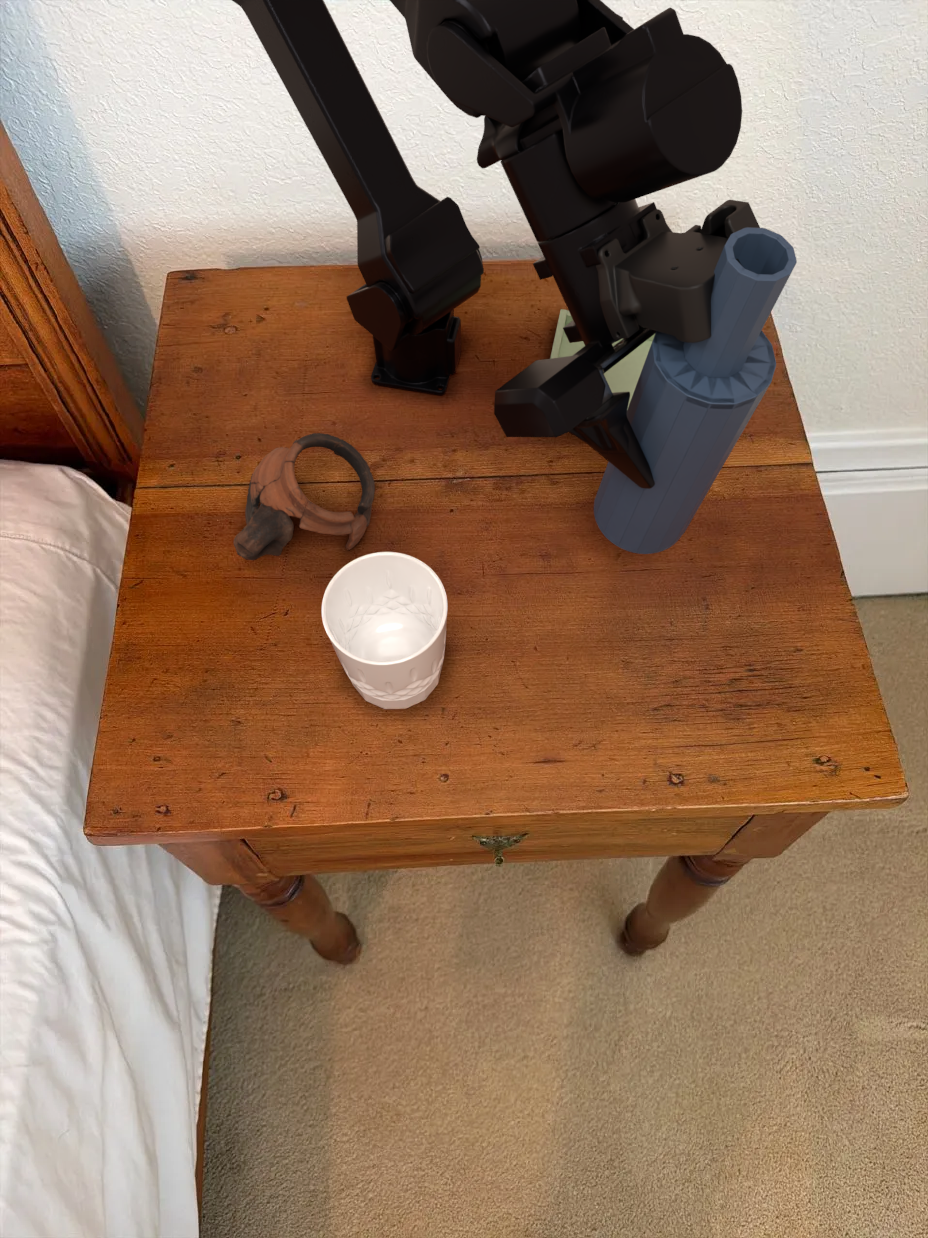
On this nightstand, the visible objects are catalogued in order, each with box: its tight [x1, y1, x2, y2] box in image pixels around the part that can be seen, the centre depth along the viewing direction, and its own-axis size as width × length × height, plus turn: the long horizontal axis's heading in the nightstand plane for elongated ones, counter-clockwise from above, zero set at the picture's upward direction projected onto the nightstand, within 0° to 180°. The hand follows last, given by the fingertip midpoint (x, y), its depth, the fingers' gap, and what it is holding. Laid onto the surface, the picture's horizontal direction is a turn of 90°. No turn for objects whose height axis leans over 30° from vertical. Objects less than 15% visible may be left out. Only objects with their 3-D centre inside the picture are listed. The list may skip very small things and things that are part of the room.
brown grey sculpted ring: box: [233, 432, 376, 561], centre depth 67 cm, size 12×9×8 cm
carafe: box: [593, 227, 798, 555], centre depth 53 cm, size 7×7×24 cm
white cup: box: [320, 551, 449, 710], centre depth 60 cm, size 8×8×10 cm
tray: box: [549, 308, 655, 410], centre depth 74 cm, size 13×11×2 cm
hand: (686, 454), depth 56 cm, fingers closed on carafe, 7 cm apart
